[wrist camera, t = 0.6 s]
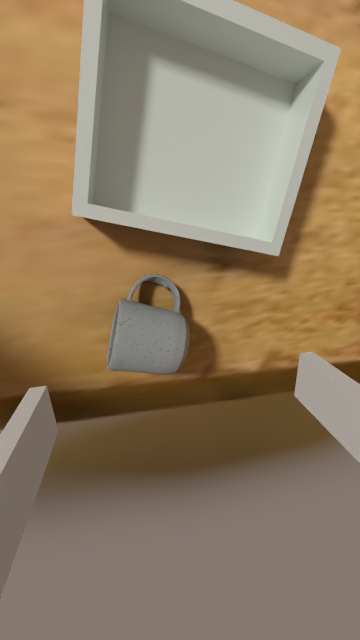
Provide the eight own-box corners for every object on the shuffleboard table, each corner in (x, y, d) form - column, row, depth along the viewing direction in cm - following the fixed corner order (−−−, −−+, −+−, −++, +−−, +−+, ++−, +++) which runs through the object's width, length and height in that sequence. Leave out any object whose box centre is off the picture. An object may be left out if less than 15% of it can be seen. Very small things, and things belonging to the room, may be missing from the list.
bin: (81, 216, 27) (71, 215, 22) (96, -4, 22) (87, -65, 17) (256, 251, 32) (278, 256, 27) (304, 78, 27) (341, 48, 22)
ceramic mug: (170, 357, 35) (182, 391, 28) (107, 349, 33) (102, 383, 26) (190, 280, 32) (208, 295, 25) (122, 266, 30) (121, 277, 23)
